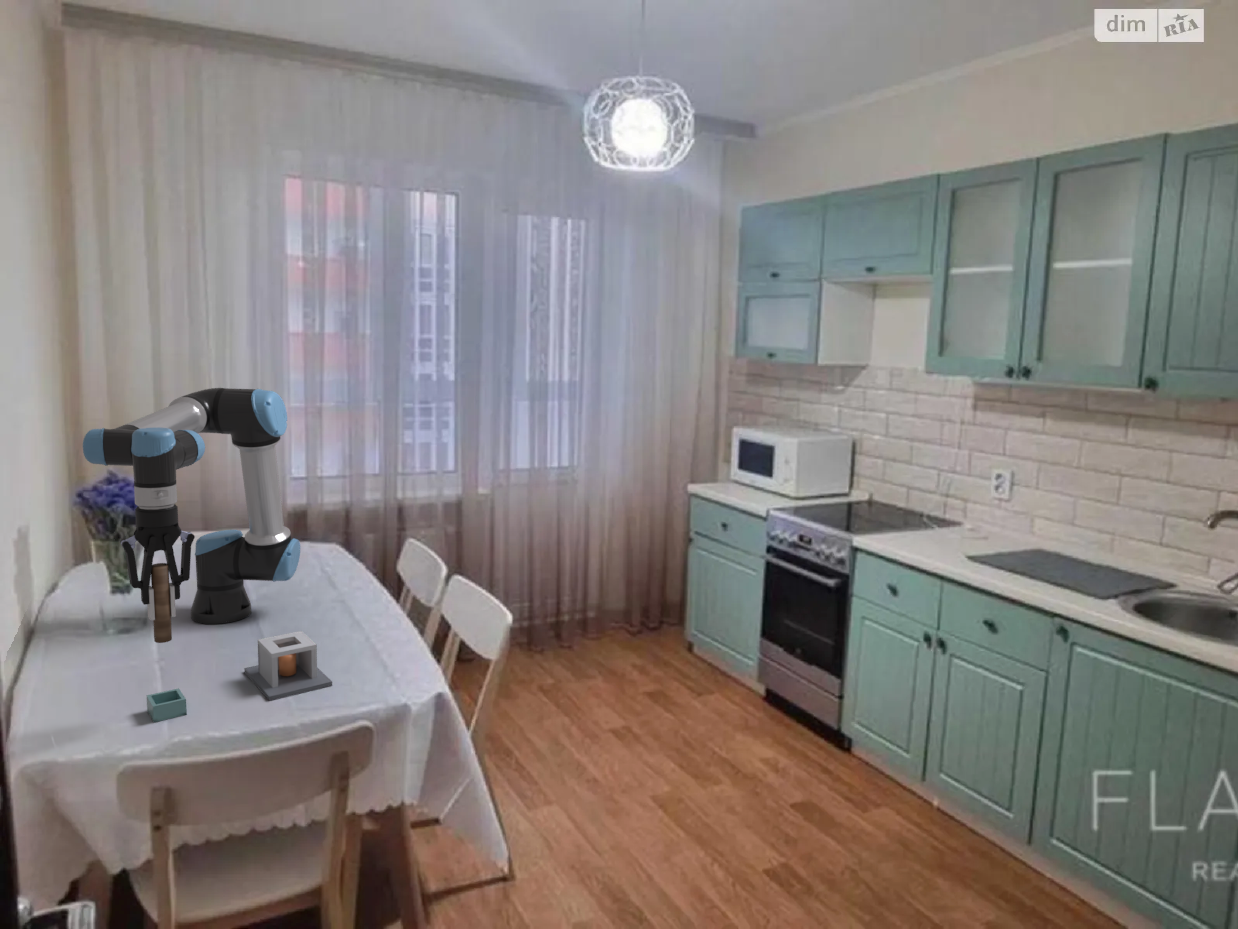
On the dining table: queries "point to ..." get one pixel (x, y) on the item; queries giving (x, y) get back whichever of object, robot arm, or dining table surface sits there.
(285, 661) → the button
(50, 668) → the dining table surface
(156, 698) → the box
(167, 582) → the brown wooden rod
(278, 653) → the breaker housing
